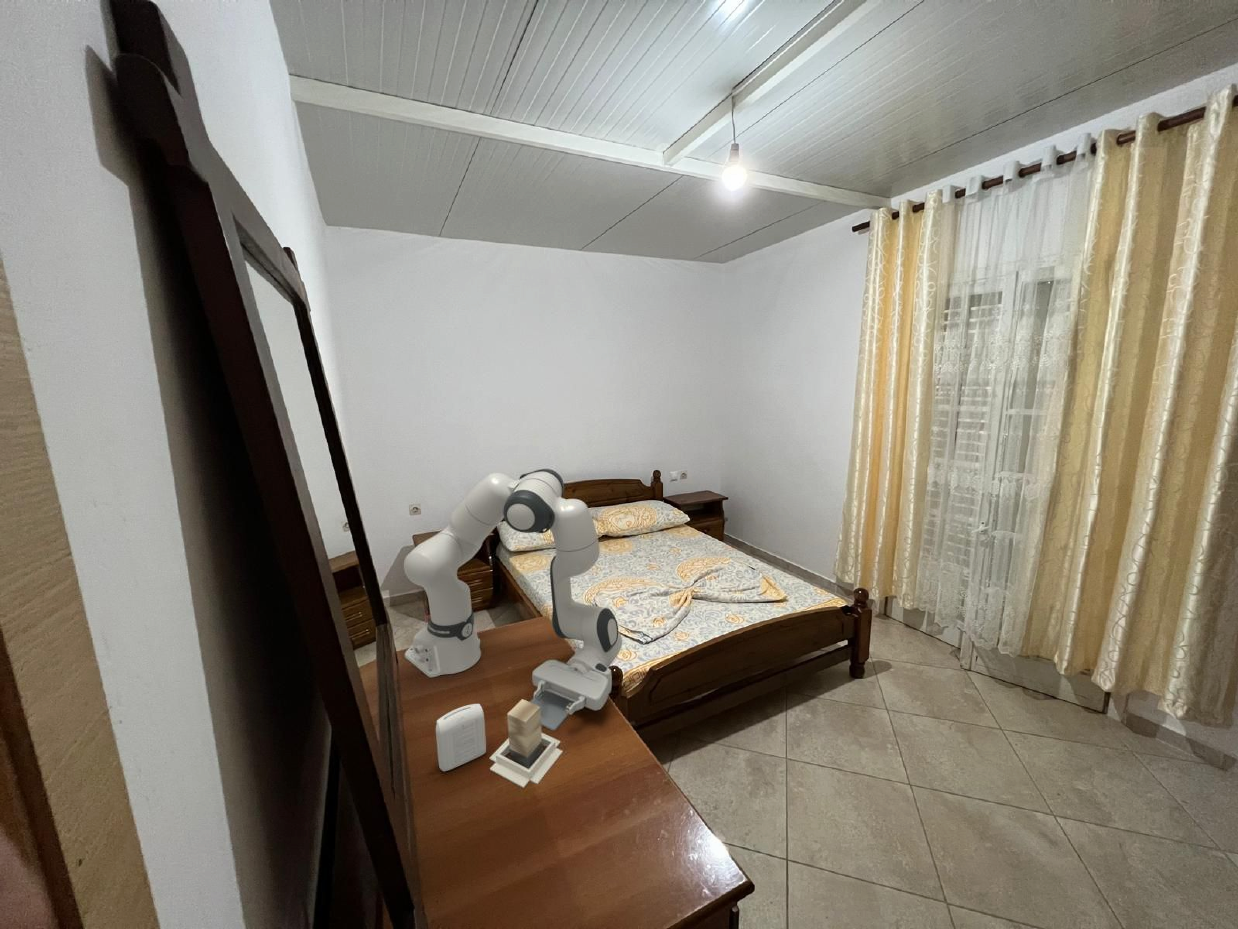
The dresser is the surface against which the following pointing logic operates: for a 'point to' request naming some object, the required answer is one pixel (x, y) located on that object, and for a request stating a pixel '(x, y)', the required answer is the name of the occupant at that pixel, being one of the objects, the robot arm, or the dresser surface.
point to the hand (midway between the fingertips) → (551, 704)
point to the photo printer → (460, 736)
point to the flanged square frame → (521, 773)
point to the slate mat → (552, 709)
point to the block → (525, 733)
